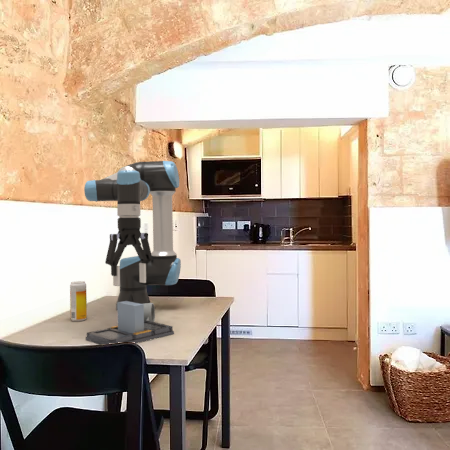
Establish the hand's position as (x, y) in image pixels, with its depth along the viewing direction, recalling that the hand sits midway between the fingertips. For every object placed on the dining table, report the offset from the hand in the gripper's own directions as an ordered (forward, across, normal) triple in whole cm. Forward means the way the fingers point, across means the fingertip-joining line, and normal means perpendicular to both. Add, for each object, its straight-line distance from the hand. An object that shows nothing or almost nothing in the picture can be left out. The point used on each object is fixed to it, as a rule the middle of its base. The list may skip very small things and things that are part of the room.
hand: (130, 284), depth 154 cm
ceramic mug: (+18, +15, +13) cm, 26 cm away
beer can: (+18, +2, +38) cm, 42 cm away
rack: (+18, 0, 0) cm, 18 cm away
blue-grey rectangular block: (+16, 0, 0) cm, 16 cm away
